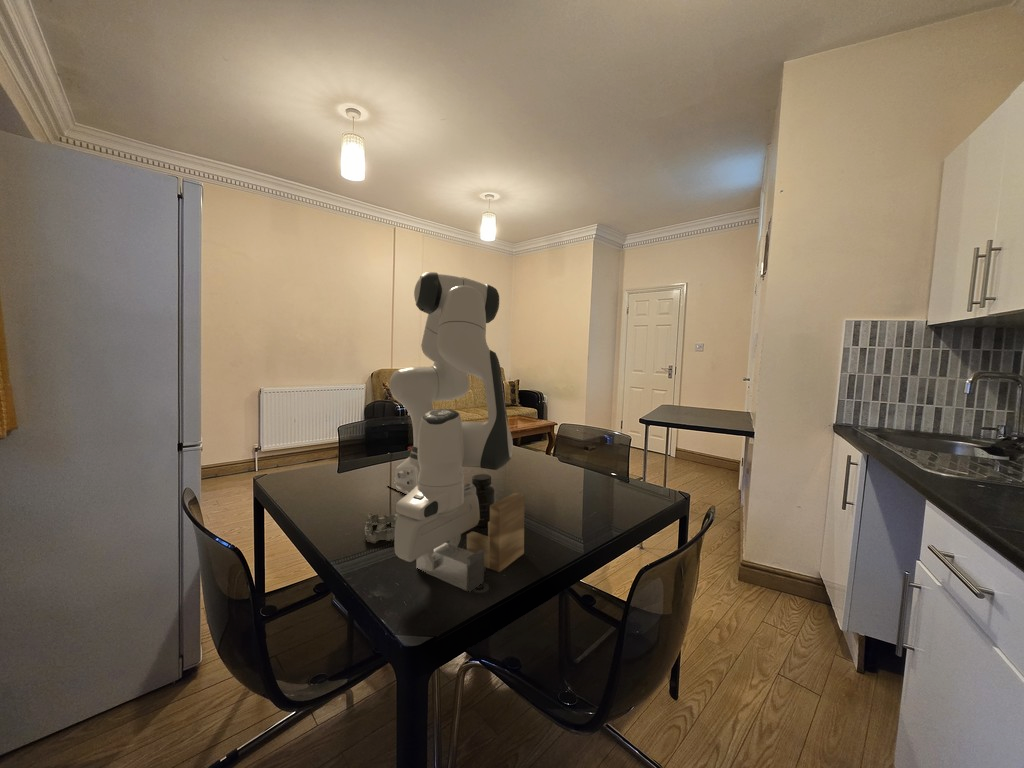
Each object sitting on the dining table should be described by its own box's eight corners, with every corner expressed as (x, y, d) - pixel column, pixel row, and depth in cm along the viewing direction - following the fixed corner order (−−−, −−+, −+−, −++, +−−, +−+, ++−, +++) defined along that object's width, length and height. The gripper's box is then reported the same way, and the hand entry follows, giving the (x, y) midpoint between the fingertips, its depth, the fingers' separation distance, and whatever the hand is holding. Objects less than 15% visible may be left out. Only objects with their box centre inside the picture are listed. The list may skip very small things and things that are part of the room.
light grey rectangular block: (416, 568, 80) (416, 538, 79) (431, 560, 83) (430, 531, 83) (470, 592, 72) (470, 559, 71) (483, 582, 75) (484, 550, 75)
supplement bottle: (470, 516, 105) (470, 472, 105) (496, 517, 105) (496, 472, 104) (466, 528, 99) (466, 480, 98) (494, 528, 98) (494, 481, 98)
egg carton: (368, 527, 100) (367, 511, 99) (399, 524, 101) (399, 508, 101) (362, 546, 89) (362, 528, 89) (397, 542, 91) (397, 525, 91)
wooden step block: (466, 559, 83) (466, 499, 82) (492, 543, 91) (492, 487, 90) (499, 572, 79) (499, 508, 78) (523, 553, 86) (524, 494, 85)
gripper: (464, 477, 88) (464, 538, 89) (388, 506, 71) (389, 581, 72) (486, 483, 84) (486, 546, 85) (412, 514, 67) (413, 593, 68)
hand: (441, 562), depth 78 cm, fingers closed on light grey rectangular block, 4 cm apart
